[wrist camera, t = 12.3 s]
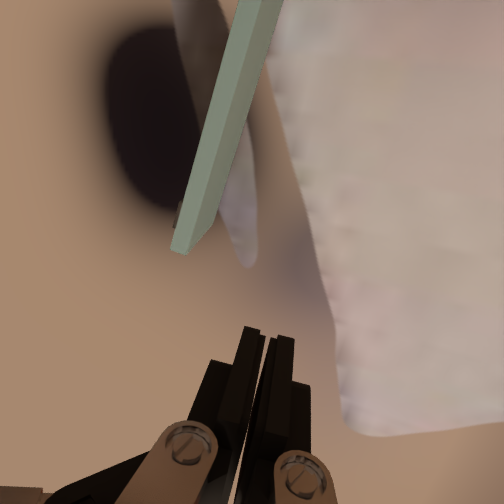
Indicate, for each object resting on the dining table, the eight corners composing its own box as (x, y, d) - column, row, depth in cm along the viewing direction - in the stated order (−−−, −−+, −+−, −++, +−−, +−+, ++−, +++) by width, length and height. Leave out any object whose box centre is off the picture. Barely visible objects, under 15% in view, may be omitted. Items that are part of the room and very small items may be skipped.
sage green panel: (213, 223, 34) (185, 255, 26) (194, 216, 34) (161, 246, 26) (310, -86, 25) (311, -169, 18) (285, -96, 25) (275, -182, 18)
